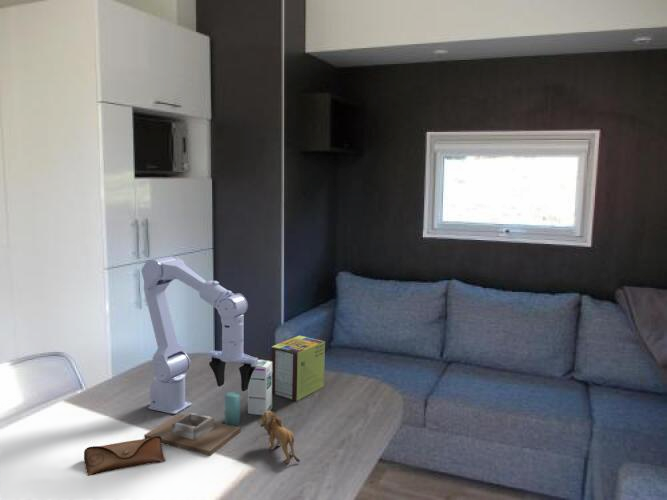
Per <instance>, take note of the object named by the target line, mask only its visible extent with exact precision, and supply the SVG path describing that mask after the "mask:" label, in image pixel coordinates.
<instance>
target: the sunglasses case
mask: <svg viewBox="0 0 667 500" xmlns="http://www.w3.org/2000/svg"><path fill="white" fill-rule="evenodd" d="M162 445H163V444H162V442H161V437H160V436H155V437H151V438H148V439H144V438H143V439H134V440H128V441H121V442H116V443H111V444H105V445H99V446H98V445H97V446H96V445H95V446H94V445H93V446H88V447H87V448H85V449H84V451H83V461H84V460H85V461H84V464H86V466H85V471H86V470H87V471H86V473H88V474H87V477H89V476H90V475H91V476H95V475H98V474H102V473H107V472H112V471H116V470H123V469H127V468H134V467H139V466H145V465H151V464H156V463H158V464H159V463H164V462H166V459H165V457H164V452H163V448H162V447H163V446H162Z"/></svg>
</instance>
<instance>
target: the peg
mask: <svg viewBox="0 0 667 500" xmlns="http://www.w3.org/2000/svg"><path fill="white" fill-rule="evenodd" d="M224 402H225V403H224V424H226V425H230V426H235V427H236V426H238V425H240V423H241V394H240V393H239V392H235V391H230V392H227V393H225V395H224Z"/></svg>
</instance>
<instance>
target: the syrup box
mask: <svg viewBox="0 0 667 500" xmlns="http://www.w3.org/2000/svg"><path fill="white" fill-rule="evenodd" d="M272 409H273V394H272V361H271V360H267V359H258V365H257V366H256V367H255V369H254V371H253V373H252V375H251V378H250V381H249V385H248V389H247V413H248V414H251V415H255V416H256V415H258V416H263V415H264V411H269V410H270V411H272Z"/></svg>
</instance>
